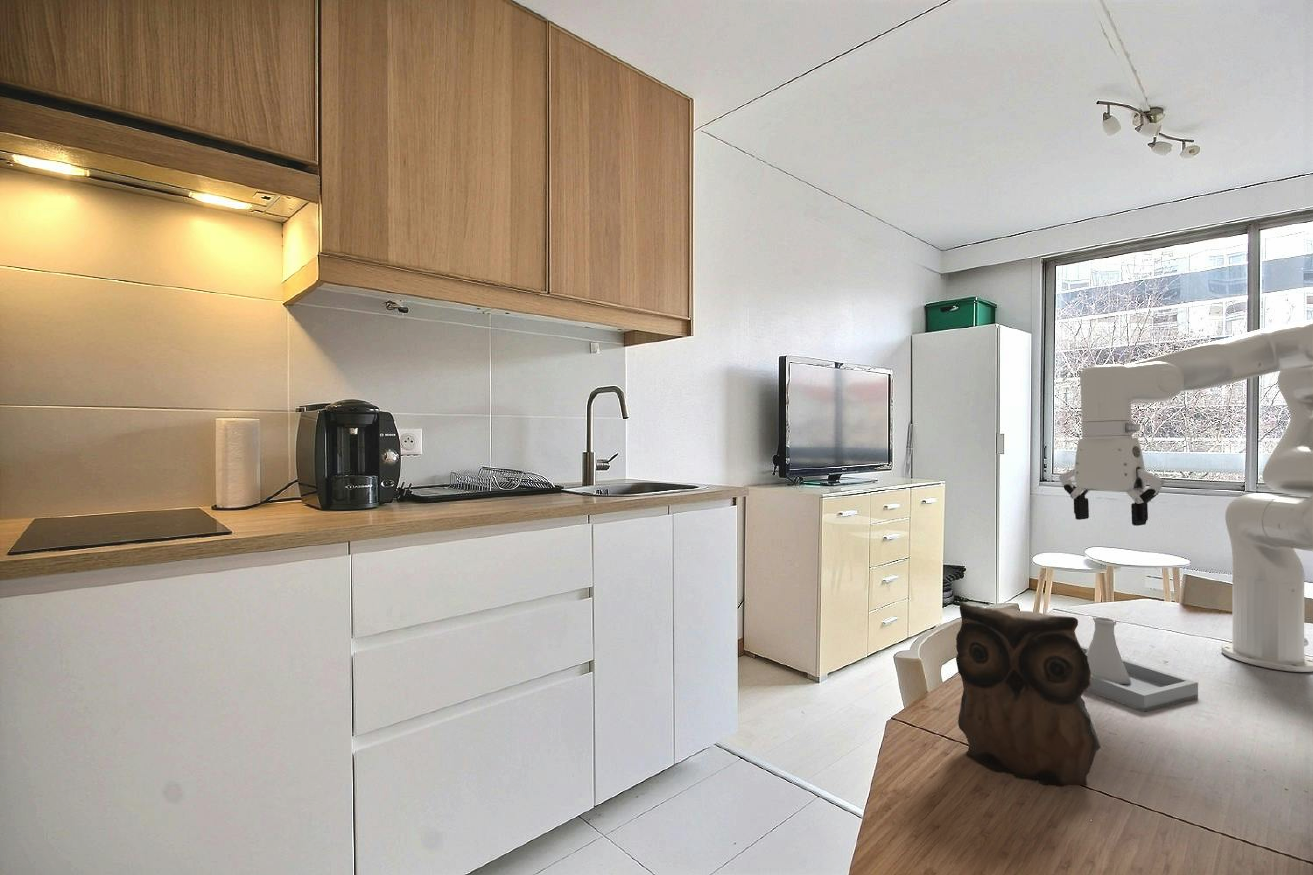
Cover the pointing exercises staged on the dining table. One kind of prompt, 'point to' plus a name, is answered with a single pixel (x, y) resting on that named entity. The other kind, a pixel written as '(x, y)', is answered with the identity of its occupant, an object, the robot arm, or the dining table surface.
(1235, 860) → the dining table surface
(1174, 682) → the tray
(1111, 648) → the flask
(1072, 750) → the owl
